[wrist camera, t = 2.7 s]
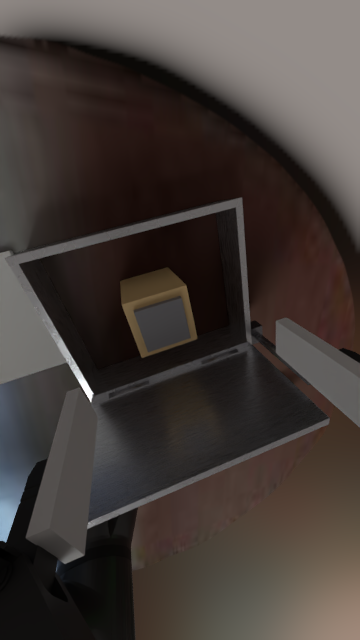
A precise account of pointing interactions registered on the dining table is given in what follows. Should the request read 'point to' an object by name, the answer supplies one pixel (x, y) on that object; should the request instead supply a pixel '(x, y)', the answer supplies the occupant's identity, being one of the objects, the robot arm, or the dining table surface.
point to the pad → (22, 331)
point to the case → (175, 382)
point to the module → (158, 311)
